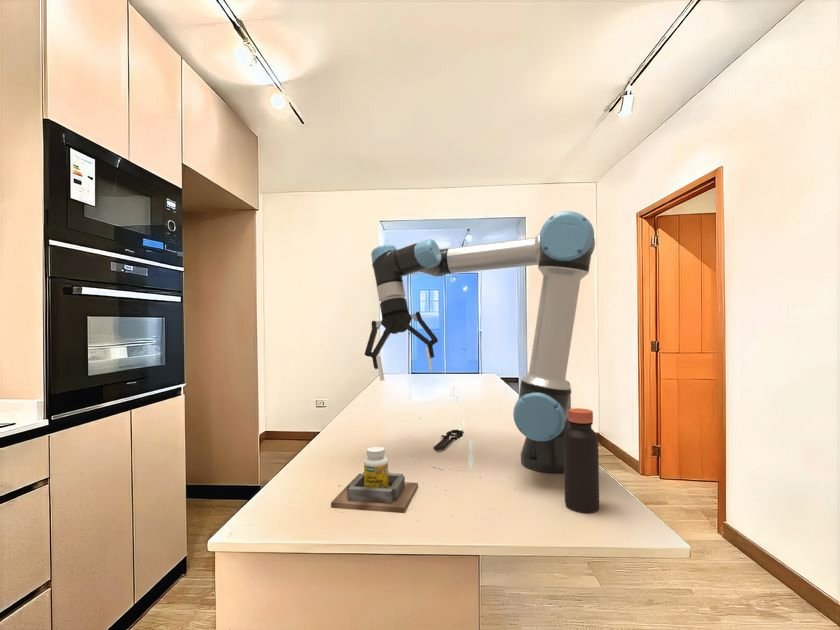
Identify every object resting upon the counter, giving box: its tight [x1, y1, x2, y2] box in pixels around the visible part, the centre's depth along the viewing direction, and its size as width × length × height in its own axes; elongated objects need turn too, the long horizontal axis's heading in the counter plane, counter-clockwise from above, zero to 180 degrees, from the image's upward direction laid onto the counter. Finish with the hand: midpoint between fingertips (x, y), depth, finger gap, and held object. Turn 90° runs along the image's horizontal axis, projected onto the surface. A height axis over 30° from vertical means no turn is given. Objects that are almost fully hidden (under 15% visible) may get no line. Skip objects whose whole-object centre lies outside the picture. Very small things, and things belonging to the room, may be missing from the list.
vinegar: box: [563, 407, 600, 514], centre depth 92 cm, size 7×7×20 cm
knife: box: [433, 429, 464, 453], centre depth 143 cm, size 25×6×1 cm, turn 155°
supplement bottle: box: [363, 446, 389, 489], centre depth 98 cm, size 5×5×10 cm
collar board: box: [330, 471, 419, 514], centre depth 98 cm, size 16×14×4 cm
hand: (406, 375), depth 119 cm, fingers open, 13 cm apart
